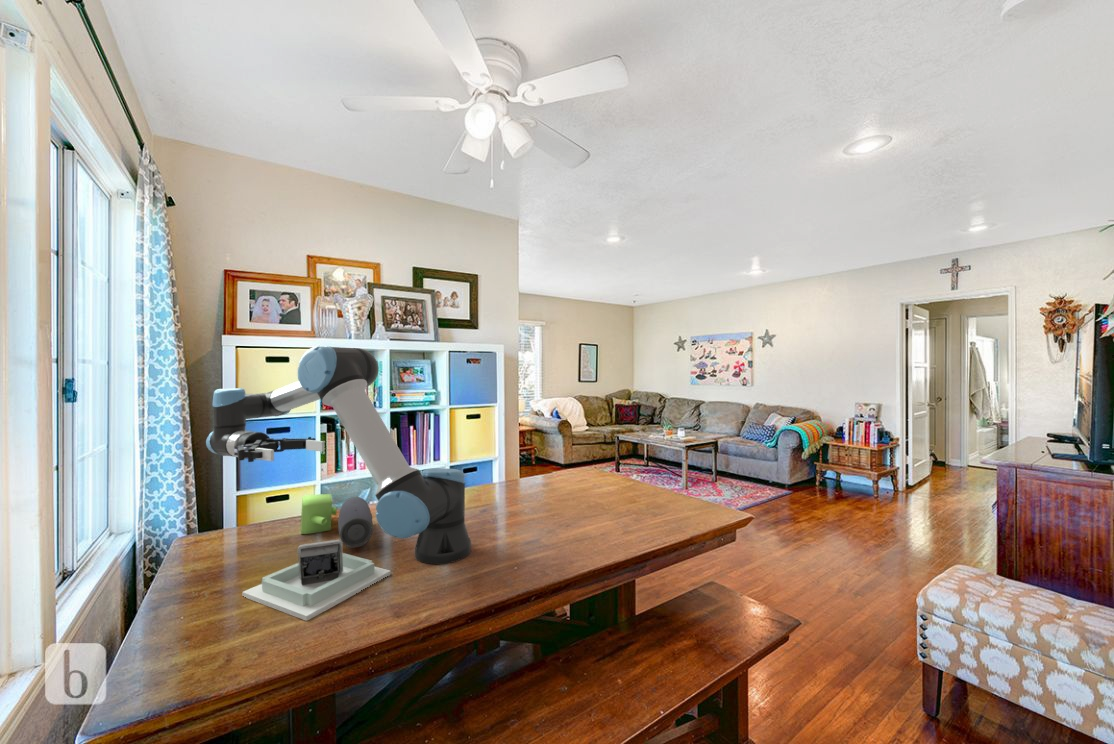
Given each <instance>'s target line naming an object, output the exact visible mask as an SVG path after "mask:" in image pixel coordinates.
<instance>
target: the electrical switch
mask: <svg viewBox="0 0 1114 744" xmlns="http://www.w3.org/2000/svg"><path fill="white" fill-rule="evenodd" d="M343 553H344V552H343V542H342V541H341V539H340V538H339V539H332V540H325V541H318V542H313V543H304V544H300V545H298V547H297V554H298V563H299V578H300V580H301V584H302V585H308V584H313V583H319V582H325V581H331V580H334V579H336V578H338V577H339V574H341V573H342V572H343ZM325 576H326V577H325ZM319 577H323V578H321V579H320V578H319ZM316 578H317V580H316ZM326 579H327V580H326Z"/></svg>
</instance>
